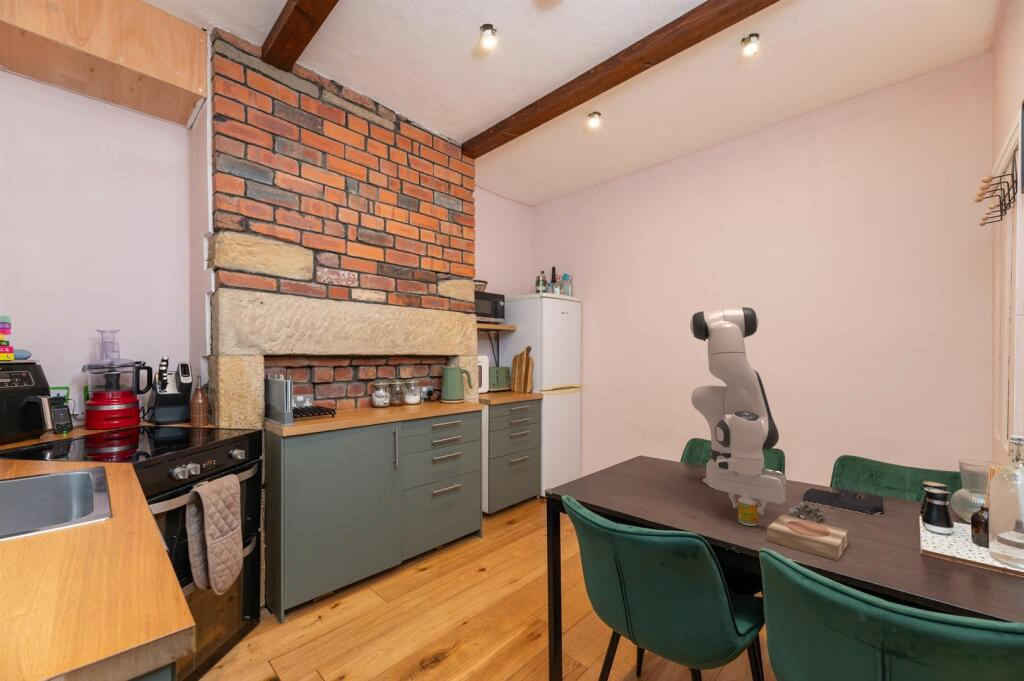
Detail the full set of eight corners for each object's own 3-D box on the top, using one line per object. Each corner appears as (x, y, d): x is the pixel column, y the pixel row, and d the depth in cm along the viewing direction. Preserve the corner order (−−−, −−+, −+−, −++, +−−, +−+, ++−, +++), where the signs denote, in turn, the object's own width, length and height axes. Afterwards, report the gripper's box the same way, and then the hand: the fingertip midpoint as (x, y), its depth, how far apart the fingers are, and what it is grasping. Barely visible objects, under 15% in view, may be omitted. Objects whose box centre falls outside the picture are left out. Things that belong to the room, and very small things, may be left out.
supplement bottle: (738, 524, 132) (738, 492, 132) (737, 518, 137) (737, 487, 137) (759, 527, 130) (758, 494, 130) (757, 520, 135) (756, 489, 135)
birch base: (782, 526, 131) (782, 513, 131) (848, 543, 119) (848, 529, 120) (767, 540, 121) (767, 526, 121) (838, 561, 110) (837, 545, 110)
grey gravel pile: (813, 527, 131) (813, 514, 131) (786, 519, 137) (786, 506, 137) (827, 519, 137) (827, 506, 137) (801, 512, 143) (801, 499, 143)
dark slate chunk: (808, 493, 163) (808, 480, 164) (885, 507, 148) (885, 493, 148) (799, 503, 152) (799, 489, 153) (882, 520, 137) (881, 505, 137)
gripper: (789, 470, 129) (789, 517, 128) (717, 457, 143) (718, 500, 143) (783, 474, 124) (783, 523, 124) (709, 461, 139) (710, 504, 139)
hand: (747, 510), depth 134 cm, fingers closed on supplement bottle, 5 cm apart
